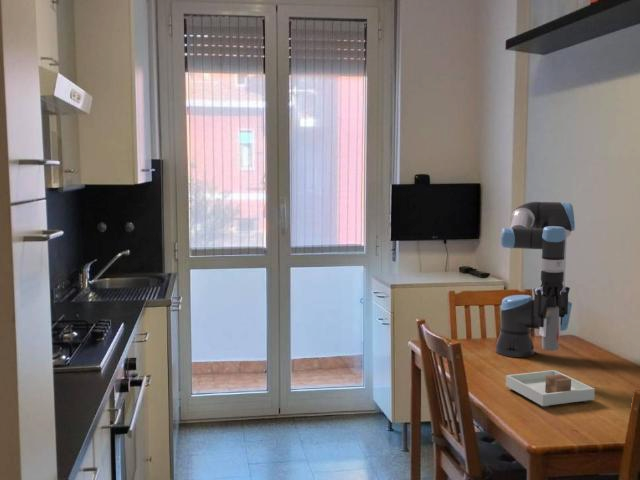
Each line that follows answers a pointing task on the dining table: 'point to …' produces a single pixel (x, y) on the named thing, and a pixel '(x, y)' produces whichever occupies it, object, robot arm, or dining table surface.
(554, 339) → the lotion bottle
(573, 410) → the dining table surface
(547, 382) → the walnut block
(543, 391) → the tray
